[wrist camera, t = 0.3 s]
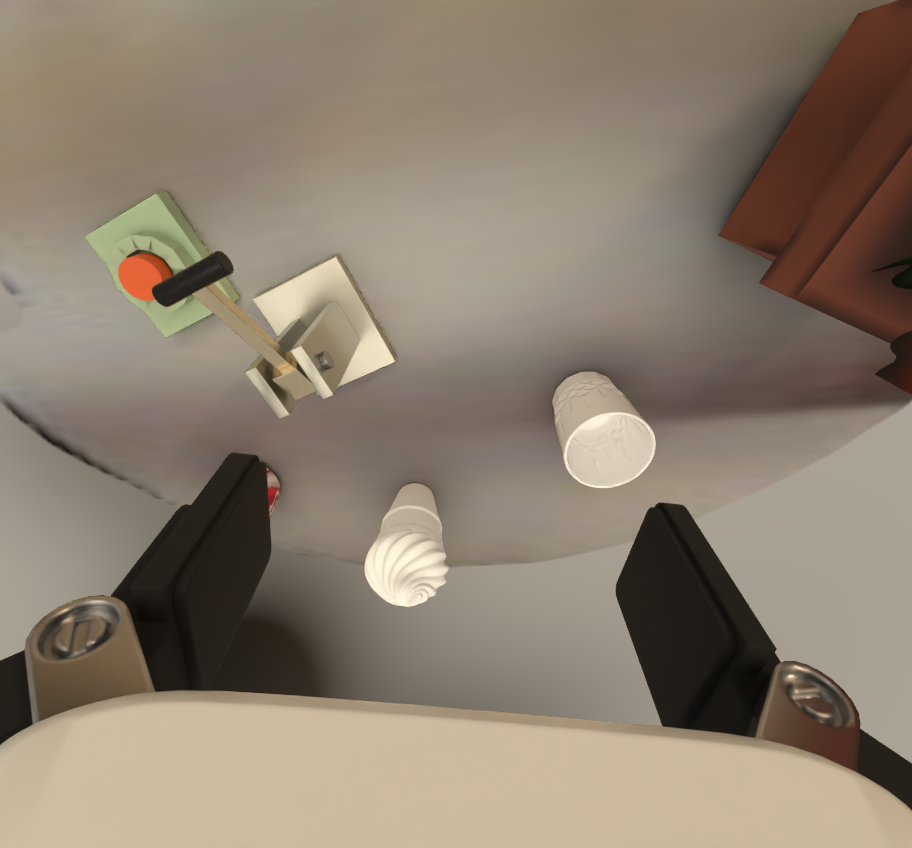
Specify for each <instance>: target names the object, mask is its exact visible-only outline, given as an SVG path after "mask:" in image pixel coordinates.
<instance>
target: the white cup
mask: <svg viewBox="0 0 912 848" xmlns="http://www.w3.org/2000/svg"><path fill="white" fill-rule="evenodd" d="M552 405H553V411H554V416H555V424H556V430H557V434H558V438H559V442H560V446H561V450H562V453H563V457H564V462H565V465H566V468H567V470H568V471H569V473H570V474H571V475H572V476H573V477H574V478H575V479H576V480H577V481H579V482H580V483H582V484H585V485H587V486H591V487H596V488H610V487H616V486H620V485H623V484H625V483H627V482H629V481H631V480H633V479H635V478H636V477H637V476H639V475H640V474H641V473H642V472H643V471H644V470H645V469H646V468H647V467H648V465H649V464H650V462H651V460H652V458H653V456H654V453H655V447H656V442H655V436H654V433H653V431H652V429H651V428H650V426H649V425H648V424H647V423H646V421H645V420H644V419H643V418H642V416H641V415H640V414H639V413H638V411H637V410H636V409H635V408H634V406H633V405H632V404H631V403H630V401H629V400H628V399H627V398H626V397H625V395H624V394H623V393H622V392H621V391H620V390H619V389H617V388H616V387H615V386H614V384H613V383H612V382H611V380H610V379H609V378H608V377H606V376H604V375H602V374H600V373H597V372H579V373H577V374H574V375H572V376H570V377H568V378H566V379H565V380H564V381H563V382H562V383H561V384H560V385H559V386H558V387H557V388H556V391H555V394H554V397H553V400H552Z"/></svg>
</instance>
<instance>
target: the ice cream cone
mask: <svg viewBox="0 0 912 848" xmlns="http://www.w3.org/2000/svg"><path fill="white" fill-rule="evenodd" d="M445 558H446V553H445V552H444V545H443V542H442V524H441V521H440V519H439V517H438V513H437V509H436V504H435V500H434V496H433V493H432V491H431V490H430V489H429V488H428V487H426V486H425V485H422V484H418V483H411V484H408V485H405V486H404V487H402V488H401V489H400V490H399V492H398V494H397V496H396V498H395V500H394V502H393V504H392V506H391V508H390V510H389V512H388V513H387V514H386V515H385V517H384V518H383V521H382V525H381V531H380V533H379V536H378V537H377V539H376V541H375V543H374V544H373V546H372V547H371V549H370V550H369V552H368V554H367V557H366V560H365V575H366V578H367V581H368V583H369V584H370V586H371V588H372V589H373V590H374V591H375V592H376V593H377V594H378V595H379V596H380V597H382V598H383V599H384V600H385V601H387V602H389V603H391V604H394V605H398V606H407V607H408V606H414V605H417V604H419V603H424V602H425V601H426V600H427V599H428V597H432V596H435V595H436V590H437V588H438V587H439V586H442V585H444V584H445V583H446V579H445V577H444V575H445V574H446V573H447V572H448V570H449V567H448V565H446V564H445V563H444V560H445Z"/></svg>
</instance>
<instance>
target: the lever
mask: <svg viewBox="0 0 912 848" xmlns="http://www.w3.org/2000/svg"><path fill="white" fill-rule="evenodd" d="M233 271H234V269H233V265H232V263H231V261H230V259H229V258H228V257H227V256H226V255H225V254H224V253H223V252H221V251H216V252H214V253H212V254H211V255H209V256H207V257H205V258H203V259H202V260H200V261H198V262H196V263H194V264H193V265H191V266H189V267H187V268H185V269H183V270H182V271H180V272H178V273H176V274H174V275H173V276H171V277H169V278H167V279H165V280H164V281H162V282H160V283H158V284H156V285H154V286H153V287H152V294H153V296H154V298H155V300H156V301H157V302H158V303H159V304H161V305H162V306H164V307H170V306H172V305H174V304H176V303H178V302H179V301H181V300H183V299H185V298H187V297H189V296H191V295H193V296H194V297H195V298H197V299H198V300H199V301H200V302H201V303H202V304H203V305H205V306H206V307H207V308H208V309H209V310H210V311H211V312H213V313H214V314H215V315H216V316H217V317H218V318H219V319H221V320H222V321H223V322H224V323H225V324H226V325H227V326H229V327H230V328H231V329H232V330H233V331H234V332H235V333H236V334H238V335H239V336H240V337H241V338H242V339H243V340H244V341H246V342H247V343H248V344H249V345H250V346H251V347H252V348H254V349H255V350H256V351H257V352H258V353H259V354H260V355H262V356H263V357H264V358H265V359H266V360H267V361H268V362H270V363H271V364H272V365H273V378H272V380H273V381H274V382H275V383H276V384H277V385H278V386H280V387H281V388H282V389H283V390H284V391H286V392H287V393H288V394H289V395H290V396H292V397H293V398H294V399H295V400H298V399H300V398H302V397H305V396H307V395H309V394H311V393H314V392H316V391H317V390H316V388H315V387H314V385H313V384H312V383H311V381H310V380H309V378H308V377H307V375H306V374H305V372H304V371H303V369H302V368H301V366H300V365H299V363H298V362H297V360H296V359H295V357H294V356H293V354H292V353H291V351H287V352H286V351H285V350H284V349H283V348H282V347H281V346H280V345H279V344H277V343H276V342H275V341H274V340H273V339H272V338H271V337H270V336H269V335H268V334H267V333H266V332H265V331H264V330H263V329H261V328H260V327H259V326H258V325H257V324H256V323H255V322H254V321H253V320H252V319H251V318H250V317H249V316H248V315H247V314H246V313H244V312H243V311H242V310H241V309H240V308H239V307H238V306H237V305H236V304H235V303H234V302H233V301H232V300H231V299H230V298H228V297H227V296H226V295H225V294H224V293H223V292H222V291H221V290H220V289H219V288H218V287H217V286H216V285H215V284H214V283H215V282H217V281H219V280H221V279H222V278H224V277H226V276H228V275H230V274H232V273H233Z"/></svg>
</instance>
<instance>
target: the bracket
mask: <svg viewBox="0 0 912 848" xmlns="http://www.w3.org/2000/svg"><path fill="white" fill-rule="evenodd" d="M253 301H254V302H255V304H256V305H257V307H258V308H259V310H260V311H261V313H262V314H263V316H264V317H265V319H266V320H267V322H268V323H269V324H270V326H271V327H272V329H273V330H274V332H275V333H276V335H277V336H278V337H277V338H276V339H275V340H274V341H275V342H276V343H277V344H279V345H280V346H281V347H282V348H283V349H284V350H285V351H286V352H287V351H291V353H292V354H293V356H294V357H295V359H296V360H297V362H298V363H299V365H300V366H301V368H302V369H303V371H304V372H305V374H306V375H307V377H308V378H309V380H310V381H311V383H312V384H313V385H314V387H315V388H316V390H317V391H316V394H317V395H318V396H321V397H322V399H323V400H324V399H326V398H328V397H331V396H333V395H334V394H335V392H336V390H337V388H338V387H340V386H342V385H345V384H347V383H349V382H351V381H354V380H356V379H358V378H360V377H363V376H365V375H367V374H369V373H372V372H374V371H376V370H378V369H381V368H383V367H385V366H387V365H389V364H392V363H394V362H396V358H397V357H396V355H395V353H394V351H393V350H392V348H391V346H390V344H389V342H388V341H387V339H386V337H385V335H384V334H383V332H382V330H381V328H380V326H379V325H378V323H377V321H376V319H375V318H374V316H373V314H372V312H371V311H370V309H369V307H368V305H367V303H366V302H365V300H364V298H363V296H362V295H361V293H360V291H359V289H358V287H357V286H356V284H355V282H354V280H353V279H352V277H351V275H350V273H349V272H348V270H347V268H346V266H345V264H344V263H343V261H342V259H341V257H340V256H339V254H337V255H335V256H333V257H331V258H329V259H327V260H325V261H323V262H322V263H320V264H318V265H316V266H314V267H312V268H310V269H308V270H306V271H304V272H302V273H300V274H298V275H296V276H294V277H292V278H290V279H289V280H287V281H285V282H283V283H281V284H279V285H277V286H275V287H273V288H271V289H269V290H267V291H265V292H263V293H261V294H259V295H258V296H256V297H255V298H253ZM245 374H246V375H247V376H248V378H249V379H250V380H251V382H252V383H253V385H254V386H255V387H256V389H257V390H258V391H259V393H260V394H261V395H262V397H263V398H264V399H265V401H266V402H267V403H268V405H269V406H270V407H271V409H272V410H273V411H274V413H275V414H276V415H277V417H278V418H279V419H281V418H283V417H286V416H288V415H290V413H291V412H292V410H293V408H294V407H295V405H296V404H297V402H298V400H299V399H298V400H295V399H294V398H293V397H292V396H290V395H289V394H288V393H287V392H286V391H284V390H283V389H282V388H281V387H280V386H278V385H277V384H276V383H275V382H274V381H273V380H272V378H273V365H272V364H271V363H270V362H268V361H267V360H266V359H265V358H264V357H263V356H262V355H260V356H259V357H258V358H257V359H256V360H255V362H254V363H253V364H252V365H251V366H250V367H249V368H248V369H247V370H246V371H245Z"/></svg>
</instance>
